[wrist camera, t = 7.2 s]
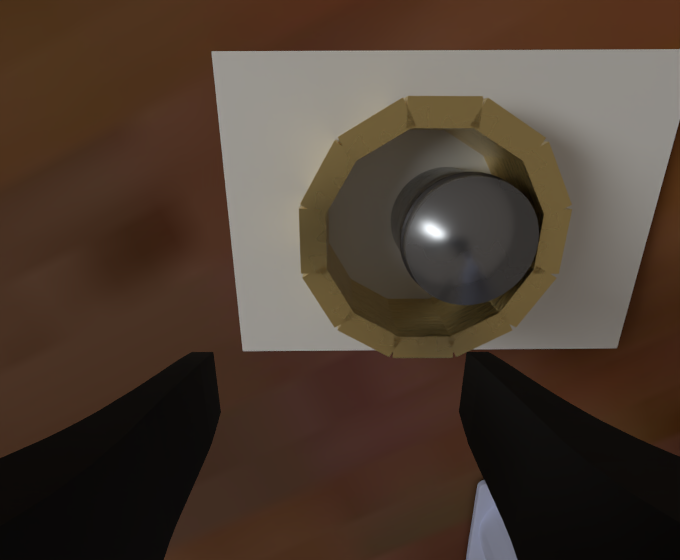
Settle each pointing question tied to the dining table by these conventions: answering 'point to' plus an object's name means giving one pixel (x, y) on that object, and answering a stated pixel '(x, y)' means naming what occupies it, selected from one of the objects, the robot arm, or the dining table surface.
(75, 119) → the dining table surface
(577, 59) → the piston stand
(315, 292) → the brass ring
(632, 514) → the robot arm
